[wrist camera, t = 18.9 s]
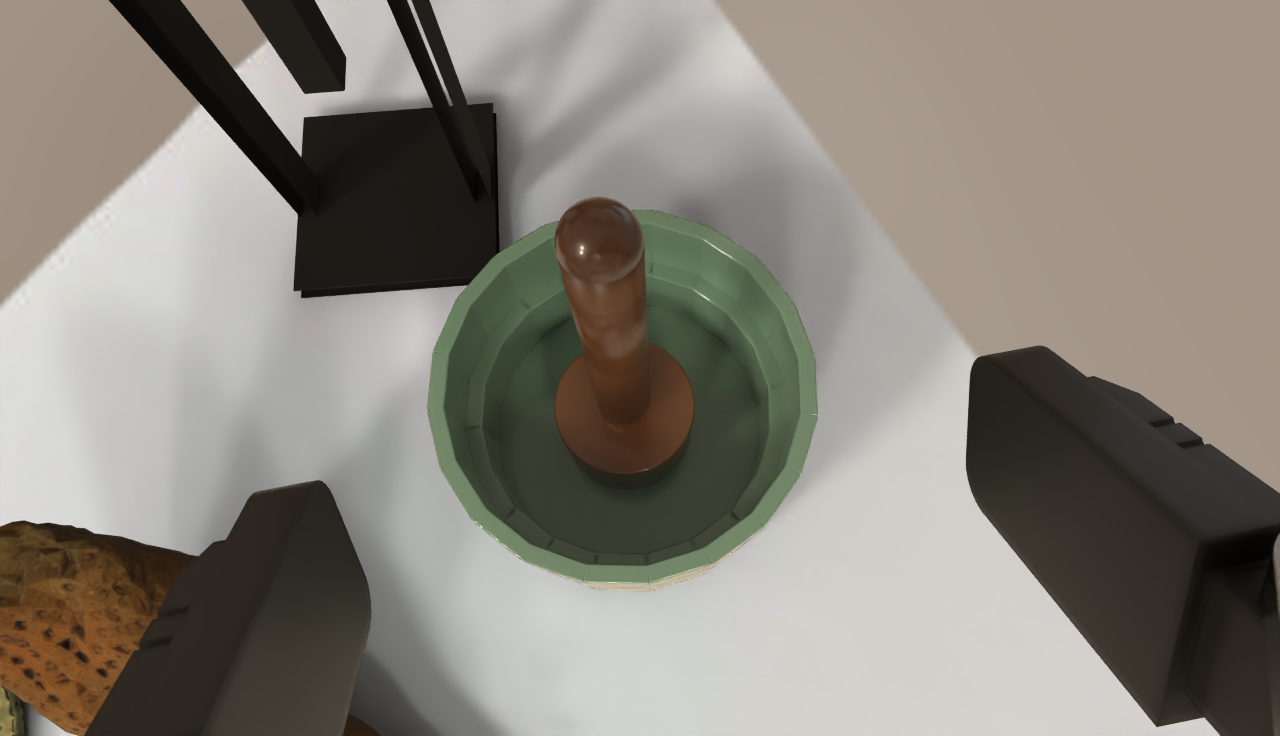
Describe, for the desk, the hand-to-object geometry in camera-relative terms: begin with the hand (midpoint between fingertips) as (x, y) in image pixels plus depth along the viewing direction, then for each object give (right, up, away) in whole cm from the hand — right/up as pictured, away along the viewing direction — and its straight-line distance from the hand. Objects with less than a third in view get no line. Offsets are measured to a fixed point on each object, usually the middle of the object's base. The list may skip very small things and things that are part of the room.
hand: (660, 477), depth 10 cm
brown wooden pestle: (-1, -1, +18) cm, 18 cm away
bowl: (-1, -1, +18) cm, 18 cm away
